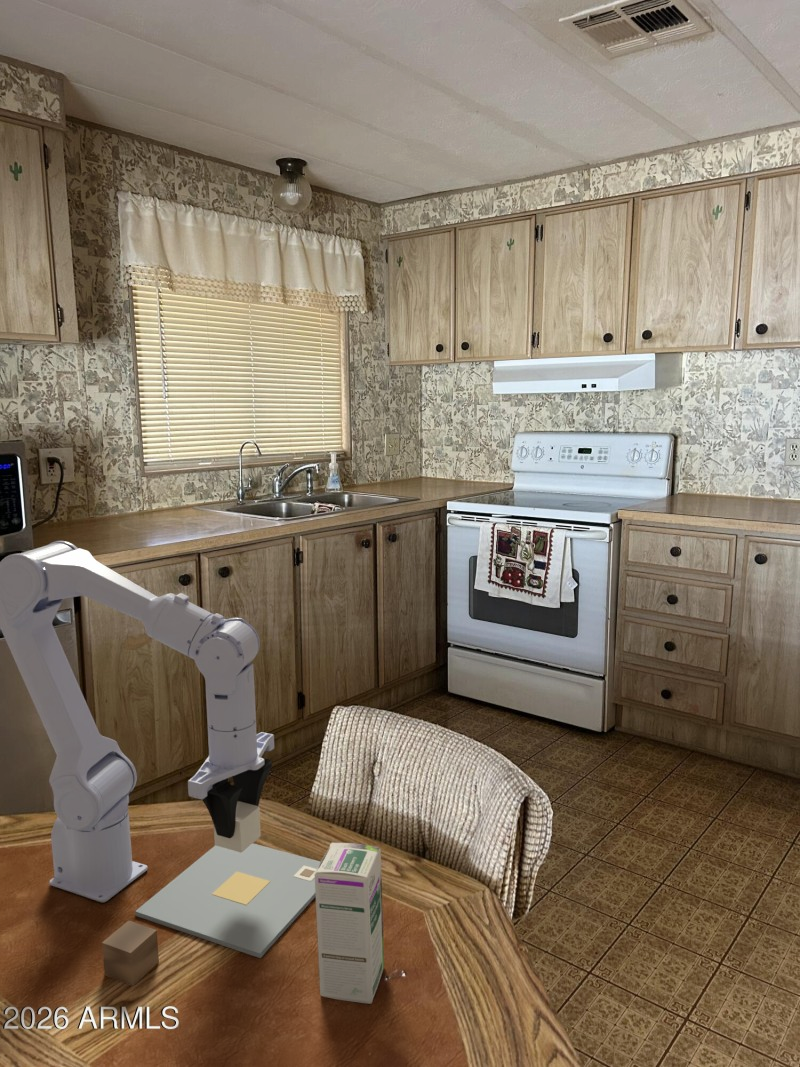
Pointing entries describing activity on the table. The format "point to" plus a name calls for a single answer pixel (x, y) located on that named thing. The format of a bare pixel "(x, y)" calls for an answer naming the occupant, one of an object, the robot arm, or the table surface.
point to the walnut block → (130, 952)
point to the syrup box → (350, 922)
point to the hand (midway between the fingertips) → (236, 826)
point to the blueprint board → (236, 897)
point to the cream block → (242, 828)
